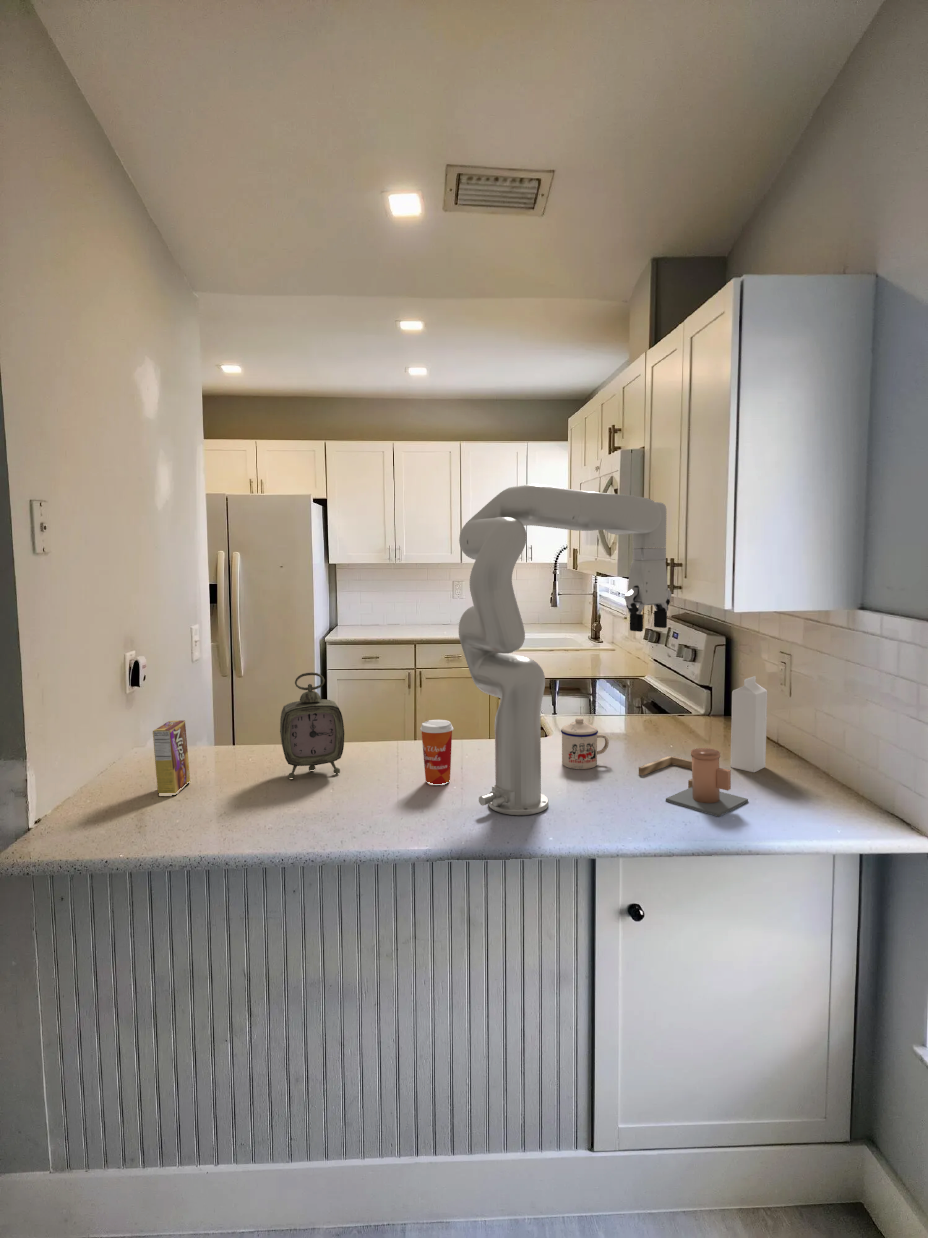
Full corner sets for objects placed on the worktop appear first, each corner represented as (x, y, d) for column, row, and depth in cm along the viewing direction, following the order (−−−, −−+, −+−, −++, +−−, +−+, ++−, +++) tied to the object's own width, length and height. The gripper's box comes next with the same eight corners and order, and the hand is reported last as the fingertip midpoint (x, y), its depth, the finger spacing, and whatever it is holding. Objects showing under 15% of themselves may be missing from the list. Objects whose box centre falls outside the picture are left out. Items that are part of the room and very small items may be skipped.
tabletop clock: (283, 783, 162) (279, 677, 160) (281, 771, 171) (277, 671, 168) (345, 776, 167) (342, 673, 164) (340, 765, 175) (337, 667, 173)
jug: (686, 799, 146) (685, 752, 145) (699, 791, 150) (699, 746, 149) (723, 808, 140) (722, 760, 139) (735, 800, 144) (735, 753, 143)
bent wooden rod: (692, 789, 153) (692, 781, 153) (638, 774, 164) (638, 767, 164) (723, 775, 162) (723, 768, 162) (670, 762, 173) (670, 755, 172)
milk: (765, 767, 168) (768, 677, 166) (754, 773, 164) (757, 681, 161) (741, 762, 172) (743, 674, 170) (729, 767, 168) (732, 677, 166)
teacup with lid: (566, 771, 167) (566, 723, 166) (556, 760, 176) (556, 715, 175) (614, 768, 169) (614, 721, 168) (602, 757, 178) (602, 712, 177)
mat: (718, 816, 137) (718, 814, 137) (665, 801, 146) (665, 798, 146) (747, 801, 145) (748, 799, 145) (695, 787, 154) (695, 785, 154)
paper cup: (415, 784, 159) (413, 725, 158) (432, 775, 166) (430, 717, 165) (444, 789, 156) (443, 728, 154) (460, 779, 162) (459, 721, 161)
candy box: (172, 783, 163) (168, 720, 162) (190, 783, 163) (187, 719, 162) (156, 797, 154) (151, 730, 153) (175, 796, 154) (171, 729, 153)
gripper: (656, 555, 170) (655, 625, 171) (613, 556, 158) (612, 631, 160) (683, 555, 164) (682, 627, 166) (641, 556, 153) (640, 634, 154)
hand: (648, 629), depth 163 cm, fingers open, 9 cm apart
